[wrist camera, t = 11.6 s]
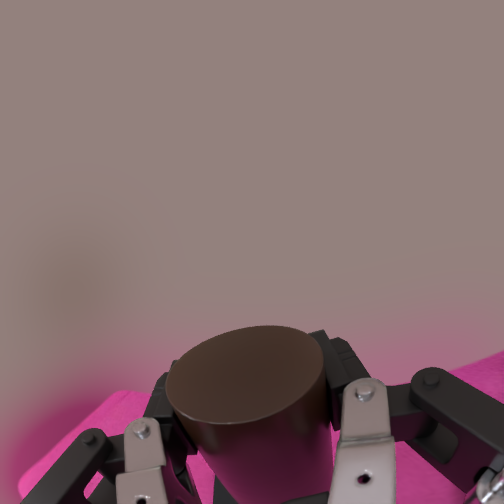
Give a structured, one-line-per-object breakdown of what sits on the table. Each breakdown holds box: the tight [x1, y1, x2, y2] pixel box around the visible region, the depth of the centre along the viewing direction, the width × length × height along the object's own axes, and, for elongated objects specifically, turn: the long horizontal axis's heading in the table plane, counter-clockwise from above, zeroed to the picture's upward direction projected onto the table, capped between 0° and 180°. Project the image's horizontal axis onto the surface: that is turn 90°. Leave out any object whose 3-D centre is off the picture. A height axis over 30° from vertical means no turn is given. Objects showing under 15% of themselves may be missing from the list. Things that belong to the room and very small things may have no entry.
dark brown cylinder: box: [166, 326, 333, 504], centre depth 9 cm, size 5×5×9 cm
